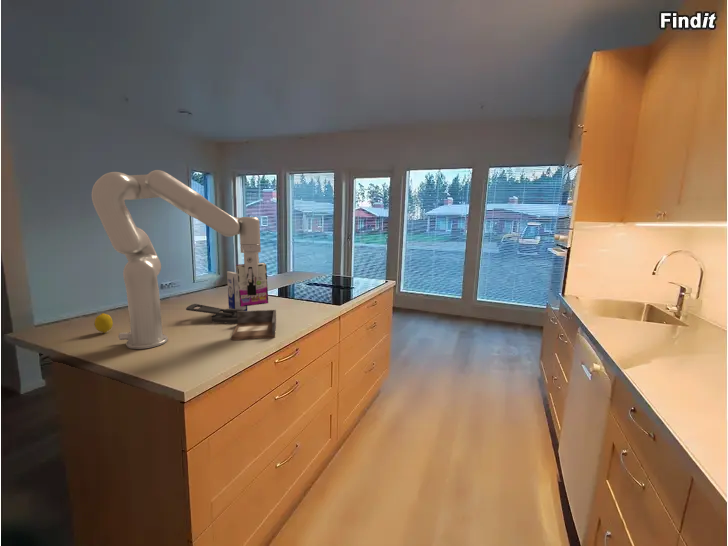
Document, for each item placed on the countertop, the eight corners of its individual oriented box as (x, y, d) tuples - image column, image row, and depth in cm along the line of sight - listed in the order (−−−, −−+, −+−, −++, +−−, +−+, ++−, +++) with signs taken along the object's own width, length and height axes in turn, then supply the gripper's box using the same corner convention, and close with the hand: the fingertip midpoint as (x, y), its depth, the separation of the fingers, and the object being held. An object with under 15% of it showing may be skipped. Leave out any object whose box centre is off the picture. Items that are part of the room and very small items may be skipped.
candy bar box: (265, 300, 136) (264, 262, 133) (268, 303, 132) (267, 264, 129) (237, 304, 131) (235, 263, 128) (239, 307, 127) (237, 265, 124)
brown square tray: (231, 340, 123) (230, 324, 122) (238, 325, 141) (237, 311, 140) (275, 337, 127) (274, 322, 126) (276, 323, 144) (275, 309, 143)
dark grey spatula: (193, 303, 150) (248, 304, 150) (194, 316, 151) (248, 318, 151) (183, 308, 141) (241, 309, 141) (184, 322, 142) (241, 324, 142)
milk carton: (228, 310, 162) (226, 270, 159) (241, 308, 167) (240, 269, 164) (233, 313, 157) (232, 272, 154) (247, 311, 162) (246, 271, 158)
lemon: (117, 331, 129) (115, 312, 128) (102, 336, 124) (100, 316, 123) (106, 329, 131) (104, 310, 129) (92, 334, 125) (89, 314, 124)
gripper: (258, 250, 120) (261, 297, 123) (262, 246, 137) (263, 288, 140) (237, 250, 119) (240, 298, 122) (243, 246, 135) (245, 288, 138)
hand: (252, 292), depth 131 cm, fingers closed on candy bar box, 6 cm apart
